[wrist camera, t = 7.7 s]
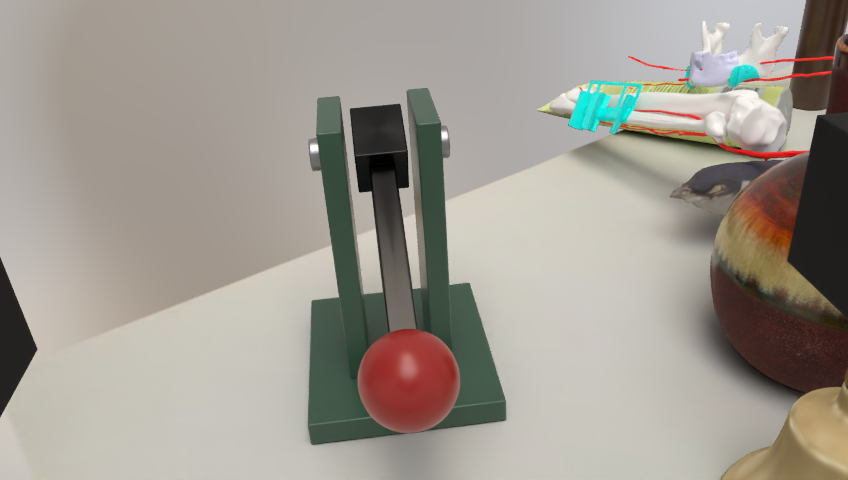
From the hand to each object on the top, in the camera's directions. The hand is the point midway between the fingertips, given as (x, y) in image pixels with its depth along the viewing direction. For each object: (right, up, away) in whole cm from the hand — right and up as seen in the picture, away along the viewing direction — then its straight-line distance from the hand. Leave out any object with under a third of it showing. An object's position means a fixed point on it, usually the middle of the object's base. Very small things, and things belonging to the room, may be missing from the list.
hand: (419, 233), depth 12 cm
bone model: (+23, +6, +42) cm, 49 cm away
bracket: (-1, -7, +26) cm, 27 cm away
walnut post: (+34, +12, +54) cm, 65 cm away
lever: (-1, -2, +19) cm, 19 cm away
